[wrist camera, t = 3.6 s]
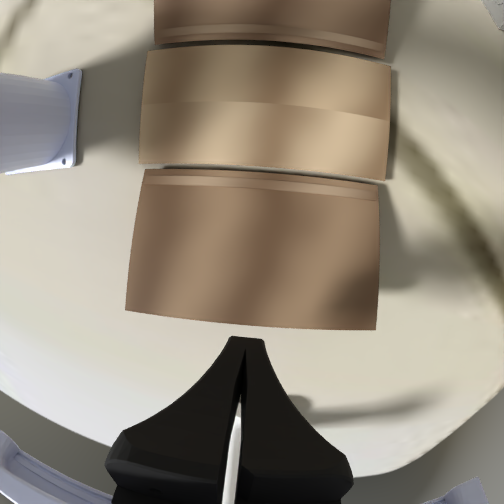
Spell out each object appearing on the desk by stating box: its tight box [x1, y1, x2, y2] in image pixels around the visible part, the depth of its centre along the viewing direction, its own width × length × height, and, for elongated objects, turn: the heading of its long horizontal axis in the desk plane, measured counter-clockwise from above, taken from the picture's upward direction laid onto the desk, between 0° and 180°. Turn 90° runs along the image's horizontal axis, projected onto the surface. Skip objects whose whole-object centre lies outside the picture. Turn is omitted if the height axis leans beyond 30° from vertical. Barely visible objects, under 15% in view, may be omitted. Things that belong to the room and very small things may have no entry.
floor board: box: [139, 45, 391, 181], centre depth 16 cm, size 16×8×1 cm, turn 86°
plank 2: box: [125, 169, 380, 330], centre depth 17 cm, size 15×9×1 cm, turn 86°
